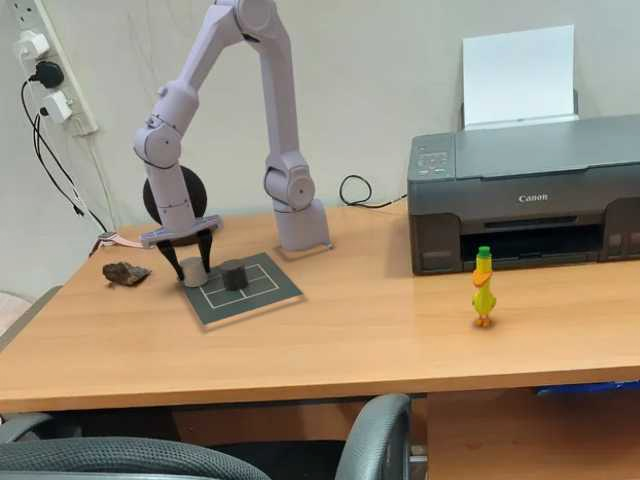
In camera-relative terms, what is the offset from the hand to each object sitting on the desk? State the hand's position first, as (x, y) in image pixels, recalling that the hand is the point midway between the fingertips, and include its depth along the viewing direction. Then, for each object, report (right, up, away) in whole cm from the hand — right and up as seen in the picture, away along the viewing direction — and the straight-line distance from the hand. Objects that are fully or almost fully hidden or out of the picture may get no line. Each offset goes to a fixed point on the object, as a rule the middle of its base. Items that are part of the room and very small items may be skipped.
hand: (194, 274), depth 122 cm
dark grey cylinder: (+8, -2, -2) cm, 9 cm away
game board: (+8, -3, -1) cm, 9 cm away
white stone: (0, -1, +1) cm, 1 cm away
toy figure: (+49, -13, -20) cm, 55 cm away
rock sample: (-14, 0, +8) cm, 17 cm away
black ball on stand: (-8, +14, +23) cm, 28 cm away
